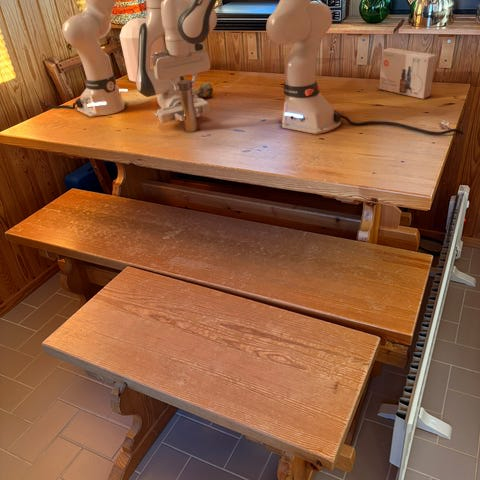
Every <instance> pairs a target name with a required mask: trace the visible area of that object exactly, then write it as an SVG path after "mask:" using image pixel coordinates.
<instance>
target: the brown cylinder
mask: <svg viewBox="0 0 480 480" xmlns="http://www.w3.org/2000/svg"><path fill="white" fill-rule="evenodd" d="M192 89H193V87H192V88H190V89H187V90H179V91H180V98H181V104H182V110H183V115H184V116H185V120H184V121H183V122H184V128H185V131H186V132H191V133H192V132H196V131H197V130H199V129H198V128H199V127H198V122H197V117H196V114H195V107H194V101H193V94H192Z"/></svg>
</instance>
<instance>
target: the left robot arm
mask: <svg viewBox="0 0 480 480" xmlns="http://www.w3.org/2000/svg"><path fill="white" fill-rule="evenodd" d="M161 2H162V0H145V4H146V5H145V6H146V16H145V18H146V19H145V22H144V23H143V24H142V25H141V26H140V31H139V43H138V68H137V77H136V82H135V85H136V88H137V91H138V92H139V94H140V95H142V96H144V97H146V98H150V97H154V96H156V101H157V104H158V105H159V108H158V109H157V110H156V112H154V113H153V115H154V117H156V118H158V121H159V123H160V124H168V123H171V122H175V121H181V122H184V120H185V116H184V115H183V110H182V104H181V98H180V91H179V90H175V89H174V85H173V84H172V82H171V81H170V79H167V80H162V81H159V80H157V79H156V78H155V75H154V69H150V52H151V46H152V44H153V43H154V41H155V40H157V39H158V38H160V37H161V36H162V37H164V36H165V30H164V28H163V24H162V16H161ZM116 3H117V0H85V5H84V8H83V10H82V11H81V12H80V13H78V14H74V15H71V16H70V17H69V18H68V19H66V21H64V23H63V24H62V26H61V27H62V28H61V32H62V33H61V34H62V36H63V38H64V40H65V42H67V43H68V44H69V45H71V46H72V47H73V48H74V50H75V51H76V53H77V54H78V56H79V59H80V61H81V63H82V67H83V70H84V74H85V79H84V82H83V83H85V89H84V91H83V92H82V93H81V95H80V96H79V97H78V98H77V99H76V100H75V102H73V103H72V106H71V105H67V104H61V105H54V104H49V103H48V104H46V105H45V106H44V109H47V108H49V107H50V108H52V109H61V108H67V109H71V110H74V109H77V111H78V112H80V113H82V114H84V115H86V116H88V117H91V118H92V117H93V118H94V117H98V116H107V115H109V116H110V115H113V114H116V113H119V112H121V111H123V110H124V109H125V108H126V106H125V105H126V101H125V100H123V95H122V93H121V92H128V89H127V88H126V89H125V88H120V87H119V86H118V85H117V81H116V76H115V74H114V72H113V68H112V63H111V60H110V56H109V55H108V53H106V52H105V51H104V50H103V48H102V45H101V44H100V41H99V40H102V39H103V38H105V37H106V36H107V35H108V33H109V32H110V31H111V30H112V29H111V28H112V20H111V19H112V18H111V17H112V14H113V10H114V8H115V5H116ZM182 80H185V76H181V77H176V78H175V81H174V82H175V83H176V84H178V82H179V81H182ZM193 101H194V107H195V114H196V118H200V116H201V115H203V114H204V115H205V114H208V113H209V112H210V110H211V109H210V108H211V107H210V103H209V102H208V100H205V98H198V96H197V95H193Z"/></svg>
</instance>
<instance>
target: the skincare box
mask: <svg viewBox="0 0 480 480" xmlns="http://www.w3.org/2000/svg"><path fill="white" fill-rule="evenodd" d="M436 57H437V54H435V53H427V52H423V51H422V52H420V51H413V50H407V49H400V48H395V47H394V48H393V47H387V48H385V49H382V50H381V61H380V74H379V86H378V87H379V88H378V89H379V90H383V91H387V92H391V93H395V94H399V95H405V96H409V97H414V98H418V99H422V100H424V99H426V98H428V97H430V96H431V91H432V86H433V85H432V84H433V78H434V73H435V72H434V71H435V70H434V69H435V64H436Z"/></svg>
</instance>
